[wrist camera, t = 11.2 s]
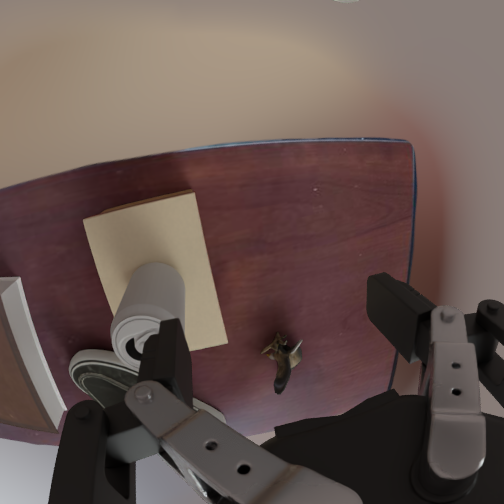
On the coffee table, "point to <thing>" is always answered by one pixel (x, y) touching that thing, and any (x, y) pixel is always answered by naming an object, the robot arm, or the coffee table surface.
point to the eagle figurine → (283, 360)
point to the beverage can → (146, 309)
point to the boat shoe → (111, 379)
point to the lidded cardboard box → (159, 257)
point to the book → (24, 367)
